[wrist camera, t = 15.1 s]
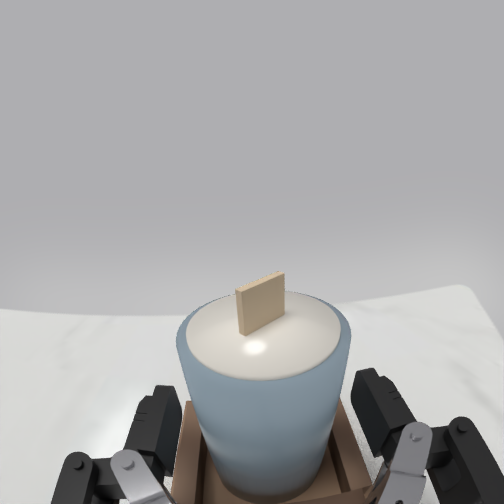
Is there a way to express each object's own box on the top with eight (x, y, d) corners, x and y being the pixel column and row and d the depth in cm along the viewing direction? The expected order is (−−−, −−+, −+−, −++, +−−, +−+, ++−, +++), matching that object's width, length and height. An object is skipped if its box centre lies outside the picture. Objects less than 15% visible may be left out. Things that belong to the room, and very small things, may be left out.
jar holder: (378, 519, 8) (395, 506, 7) (170, 538, 8) (152, 529, 7) (334, 397, 19) (339, 371, 18) (188, 408, 19) (181, 384, 18)
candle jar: (266, 522, 9) (256, 374, 5) (197, 460, 13) (138, 282, 9) (339, 457, 13) (387, 274, 9) (268, 413, 17) (262, 243, 13)
